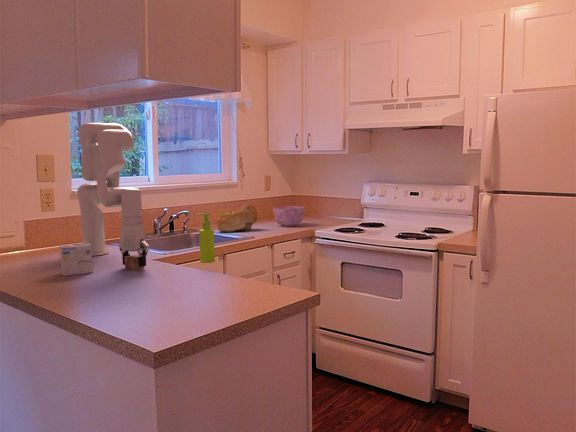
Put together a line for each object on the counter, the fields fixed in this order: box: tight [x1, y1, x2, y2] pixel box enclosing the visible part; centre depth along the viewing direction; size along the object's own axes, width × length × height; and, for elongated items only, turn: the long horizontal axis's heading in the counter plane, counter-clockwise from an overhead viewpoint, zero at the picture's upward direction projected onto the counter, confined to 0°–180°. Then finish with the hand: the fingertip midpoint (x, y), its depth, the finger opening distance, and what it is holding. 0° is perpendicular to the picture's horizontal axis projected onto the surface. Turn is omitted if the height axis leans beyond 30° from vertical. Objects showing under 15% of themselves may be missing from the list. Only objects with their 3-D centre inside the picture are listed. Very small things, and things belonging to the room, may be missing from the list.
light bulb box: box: [59, 242, 94, 277], centre depth 193 cm, size 11×7×11 cm, turn 119°
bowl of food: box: [272, 205, 306, 228], centre depth 318 cm, size 20×20×12 cm
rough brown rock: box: [216, 204, 258, 233], centre depth 302 cm, size 23×17×15 cm
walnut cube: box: [124, 254, 145, 271], centre depth 199 cm, size 5×5×5 cm
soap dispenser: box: [195, 212, 216, 264], centre depth 210 cm, size 6×7×20 cm
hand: (134, 265), depth 199 cm, fingers open, 8 cm apart
